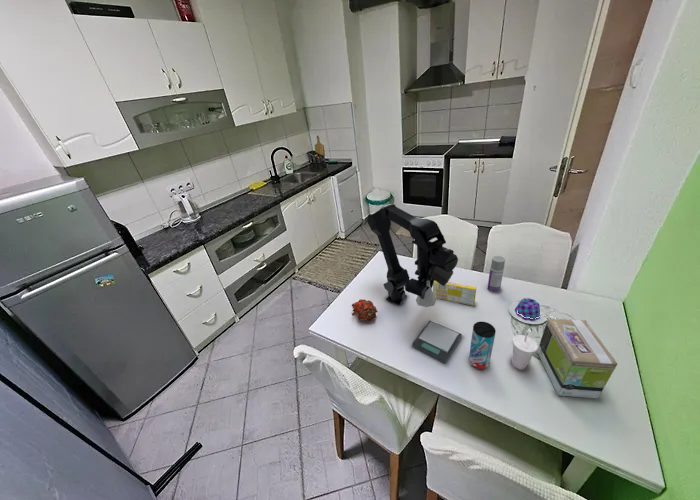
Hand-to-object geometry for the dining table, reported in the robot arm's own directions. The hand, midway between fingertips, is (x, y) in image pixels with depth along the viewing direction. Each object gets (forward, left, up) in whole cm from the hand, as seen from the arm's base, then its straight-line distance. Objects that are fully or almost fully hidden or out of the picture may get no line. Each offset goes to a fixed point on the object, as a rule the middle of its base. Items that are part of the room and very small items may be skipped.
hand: (425, 294), depth 99 cm
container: (+15, +31, -13) cm, 37 cm away
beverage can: (+22, -7, -13) cm, 27 cm away
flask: (0, 0, -3) cm, 3 cm away
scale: (+8, -7, -13) cm, 17 cm away
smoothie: (+32, -1, -13) cm, 35 cm away
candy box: (+4, +16, -13) cm, 21 cm away
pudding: (+29, +23, -13) cm, 39 cm away
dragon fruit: (-21, -11, -13) cm, 27 cm away
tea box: (+43, +3, -13) cm, 45 cm away
